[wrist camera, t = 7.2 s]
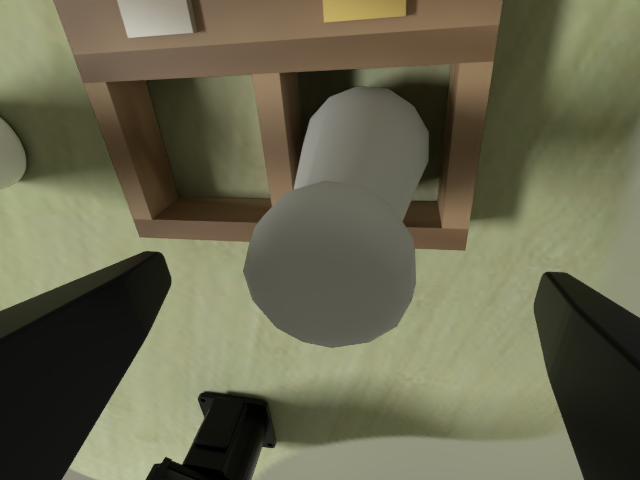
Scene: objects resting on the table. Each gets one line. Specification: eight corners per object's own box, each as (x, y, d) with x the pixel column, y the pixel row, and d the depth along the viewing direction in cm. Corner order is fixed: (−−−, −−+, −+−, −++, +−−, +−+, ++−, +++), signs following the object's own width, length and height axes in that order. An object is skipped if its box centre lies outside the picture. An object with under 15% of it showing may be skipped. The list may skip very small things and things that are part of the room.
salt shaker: (439, 84, 18) (494, 206, 7) (415, 195, 21) (426, 404, 10) (316, 72, 18) (186, 164, 7) (310, 181, 21) (212, 360, 10)
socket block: (457, 221, 21) (466, 255, 18) (167, 213, 24) (135, 240, 22) (500, -102, 14) (525, -131, 11) (86, -47, 18) (24, -58, 15)
